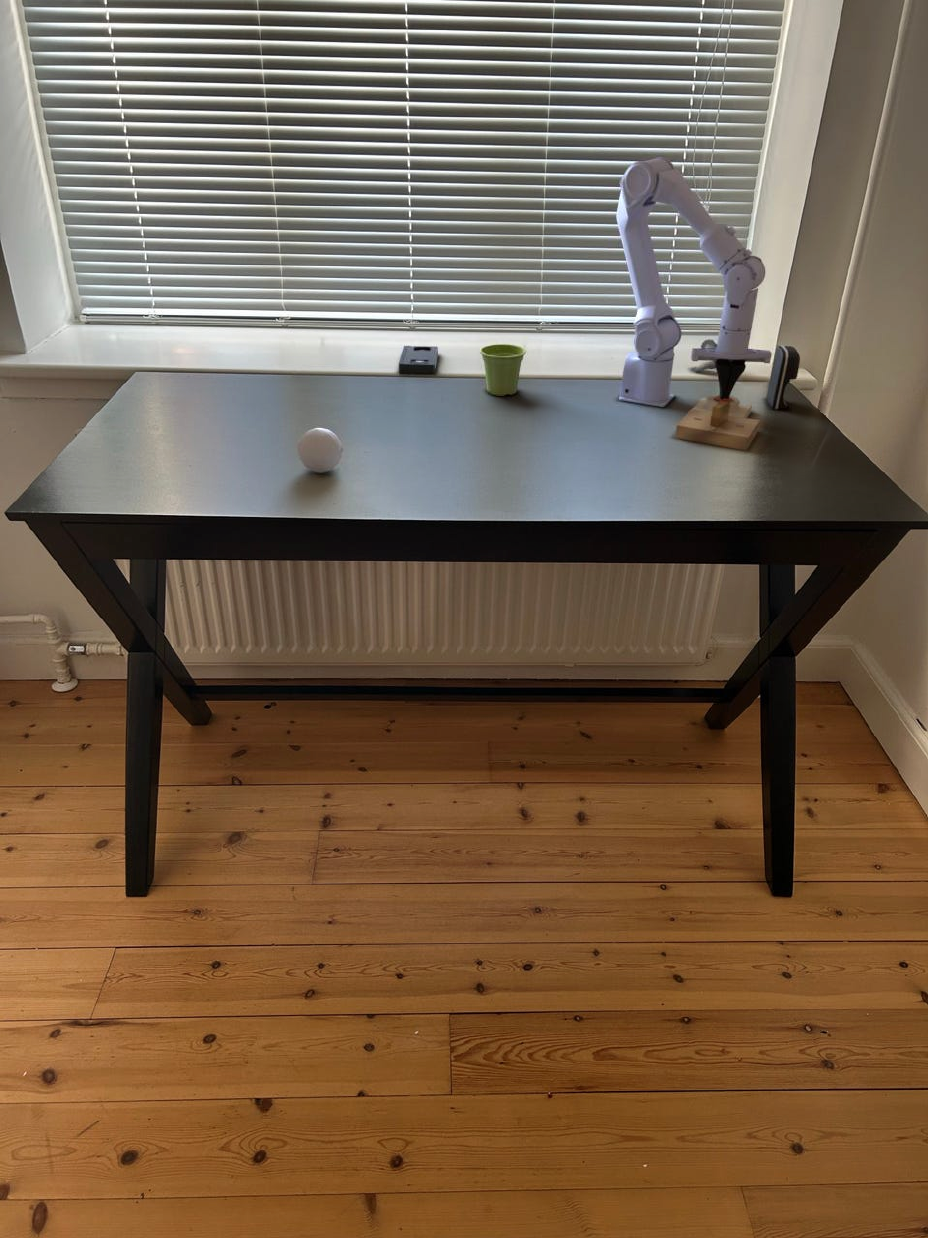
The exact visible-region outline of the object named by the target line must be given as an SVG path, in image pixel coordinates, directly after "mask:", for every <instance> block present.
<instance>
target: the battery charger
mask: <svg viewBox="0 0 928 1238" xmlns="http://www.w3.org/2000/svg"><path fill="white" fill-rule="evenodd" d="M800 362H801V356H800V353H799V352H798V350H797V349H796V347H794V346H791V345H778V346H777V347H776V349H775V351H774V357H773V362H772V367H771V371H770V372H771V373H770V376H769V383H768V387H767V393H766V398H765V399H766V401H767V402H768V404H769V406H770V407H771V409H773V410H785V409H787V408H788V404H787V402H786V400H785V399H784V395H785V390H786V387H787V385H788V384H790V381H791V380H797V378H798V374H799V370H800V364H801V363H800Z"/></svg>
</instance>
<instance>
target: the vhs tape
mask: <svg viewBox="0 0 928 1238" xmlns="http://www.w3.org/2000/svg"><path fill="white" fill-rule="evenodd" d="M438 356H439V347H438V346H427V345H426V346H421V345H420V346H418V345H417V346H416V345H412V346H411V345H404V346H403V348H402V352H401V355H400V358H399V362H398V373H399V374H435V373H436V370H437V369H436V368H437V364H438Z"/></svg>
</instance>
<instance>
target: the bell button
mask: <svg viewBox="0 0 928 1238" xmlns="http://www.w3.org/2000/svg"><path fill="white" fill-rule="evenodd" d="M729 399H730V401H731V402H732V398H731V397H729ZM715 401H717V402H720V401H722V400H721V399H720V397H719V396H716V397H715Z"/></svg>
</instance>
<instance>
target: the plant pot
mask: <svg viewBox="0 0 928 1238" xmlns="http://www.w3.org/2000/svg"><path fill="white" fill-rule="evenodd" d="M526 352H527V350H526V348H524V347H522V346H520V345H515V344H508V343H497V344H496V343H495V344H489V345H485V346H483V347H481V348H480V349H479V353H480V355H481V358H482V360H483V364H484V373H485V380H486V381H485V382H486V391H487V392H489V394H490V395H492V396H499V397H503V396H506V395H509V396H511V395H513V394H517V391H518V385H519V378H520V372H521V368H522V367H521V366H522V361H523V360H524V355H525V354H526Z"/></svg>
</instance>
